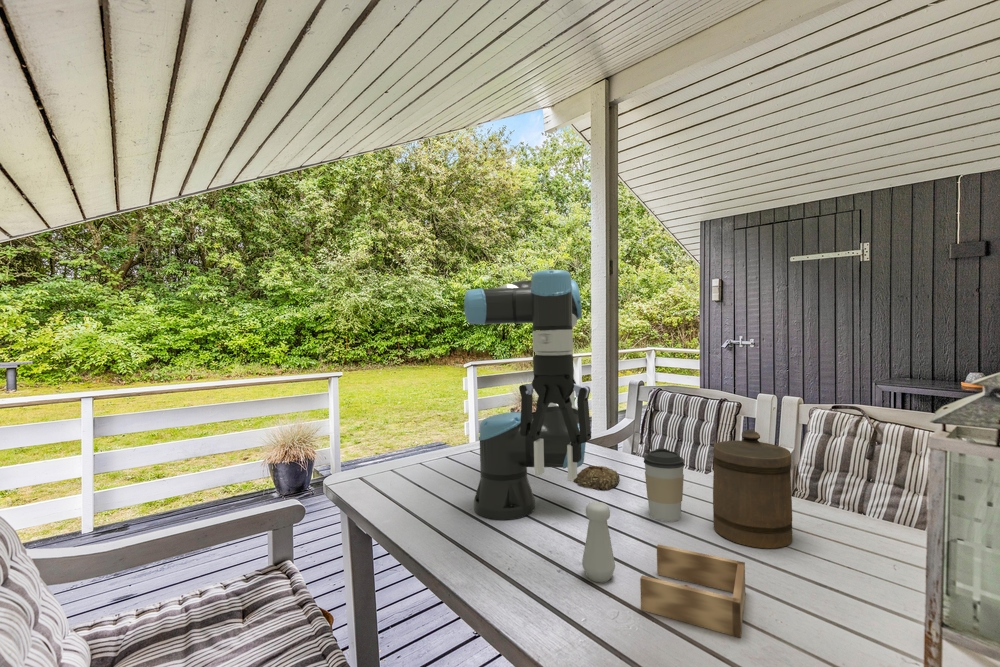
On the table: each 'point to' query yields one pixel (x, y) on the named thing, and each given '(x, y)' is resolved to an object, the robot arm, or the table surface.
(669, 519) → the coffee cup
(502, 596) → the table surface
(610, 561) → the salt shaker
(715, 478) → the wooden container
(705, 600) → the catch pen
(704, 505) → the table surface
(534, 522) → the table surface
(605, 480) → the bread roll
